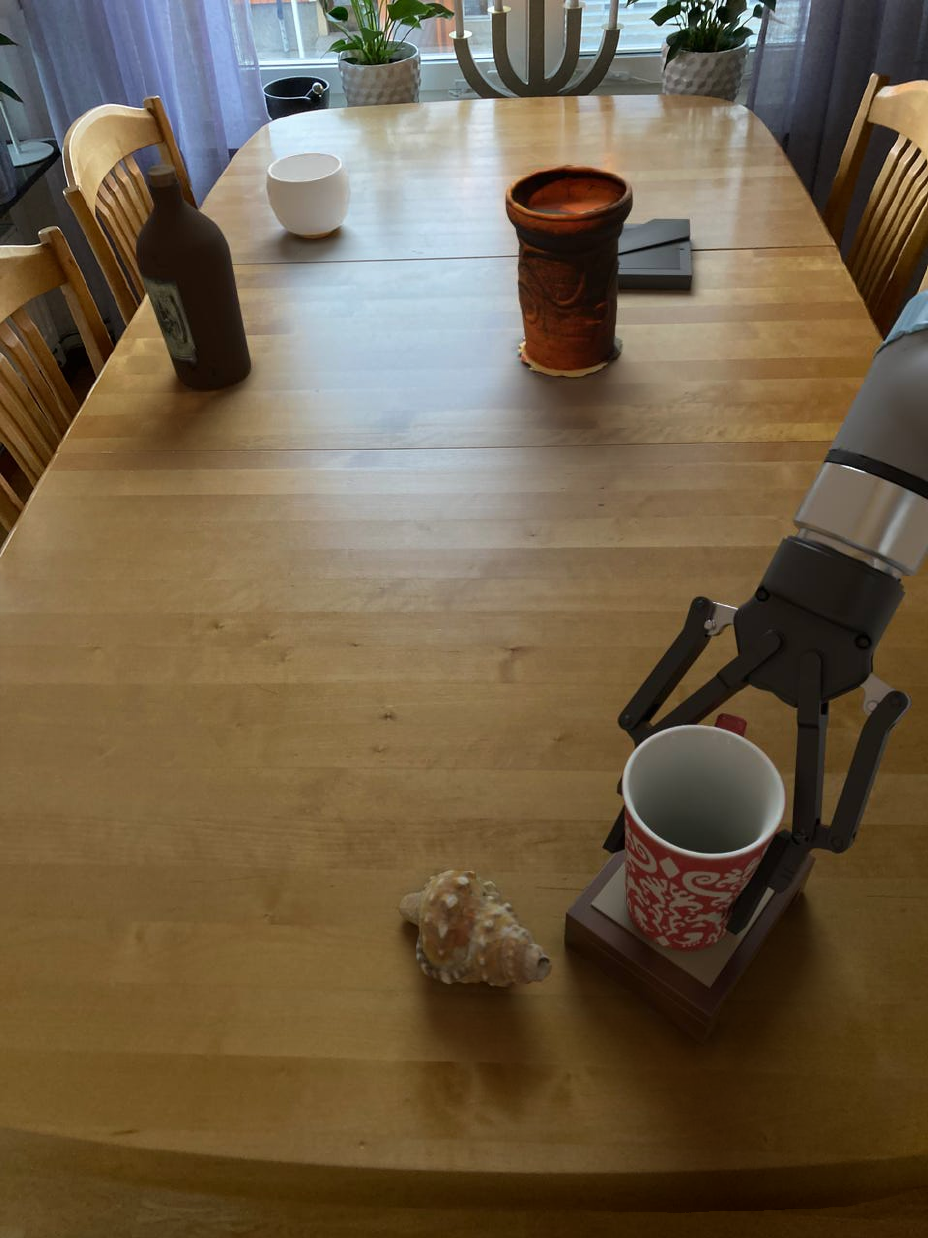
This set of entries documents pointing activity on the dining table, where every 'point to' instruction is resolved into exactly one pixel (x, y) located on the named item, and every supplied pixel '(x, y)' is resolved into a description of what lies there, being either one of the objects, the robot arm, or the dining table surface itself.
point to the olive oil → (191, 288)
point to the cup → (309, 193)
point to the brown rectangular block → (669, 950)
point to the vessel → (568, 265)
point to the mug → (696, 828)
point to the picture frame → (655, 255)
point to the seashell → (472, 933)
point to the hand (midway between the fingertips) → (673, 886)
